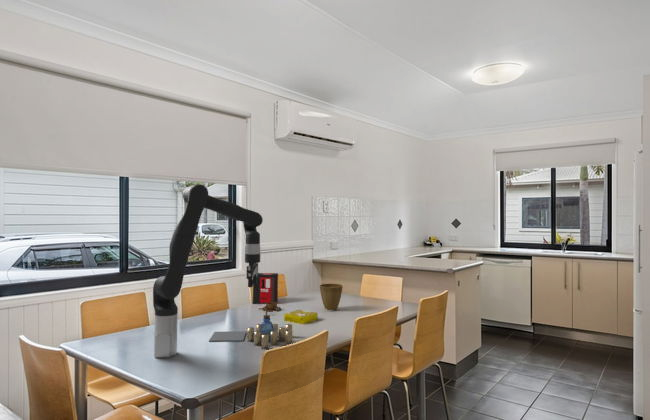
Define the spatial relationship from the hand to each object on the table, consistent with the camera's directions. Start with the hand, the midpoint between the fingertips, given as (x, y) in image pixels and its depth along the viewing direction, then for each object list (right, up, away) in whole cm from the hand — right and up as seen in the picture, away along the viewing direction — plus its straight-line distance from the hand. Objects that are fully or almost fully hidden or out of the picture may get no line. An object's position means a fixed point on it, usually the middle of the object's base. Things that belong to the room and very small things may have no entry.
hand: (252, 285), depth 212 cm
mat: (-12, -25, 0) cm, 28 cm away
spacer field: (+9, -26, -5) cm, 28 cm away
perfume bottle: (+8, -26, -5) cm, 27 cm away
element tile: (+22, -27, +37) cm, 51 cm away
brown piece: (-1, -27, +60) cm, 66 cm away
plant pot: (+40, -28, +66) cm, 82 cm away
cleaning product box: (-6, -27, +86) cm, 91 cm away
